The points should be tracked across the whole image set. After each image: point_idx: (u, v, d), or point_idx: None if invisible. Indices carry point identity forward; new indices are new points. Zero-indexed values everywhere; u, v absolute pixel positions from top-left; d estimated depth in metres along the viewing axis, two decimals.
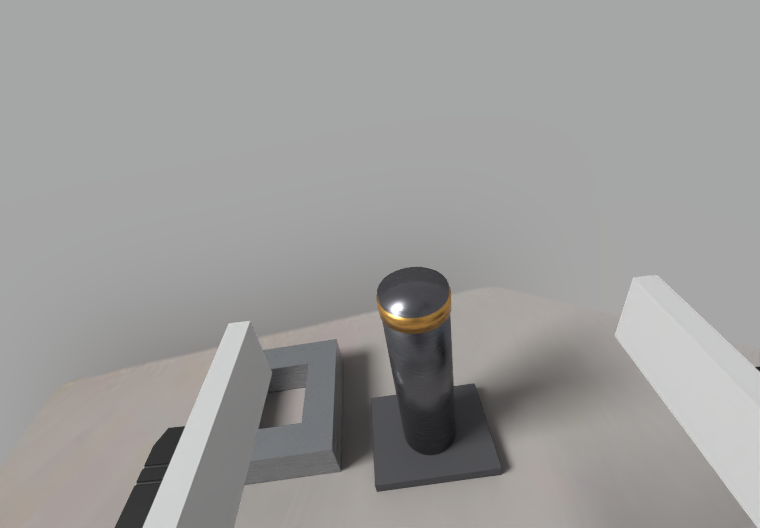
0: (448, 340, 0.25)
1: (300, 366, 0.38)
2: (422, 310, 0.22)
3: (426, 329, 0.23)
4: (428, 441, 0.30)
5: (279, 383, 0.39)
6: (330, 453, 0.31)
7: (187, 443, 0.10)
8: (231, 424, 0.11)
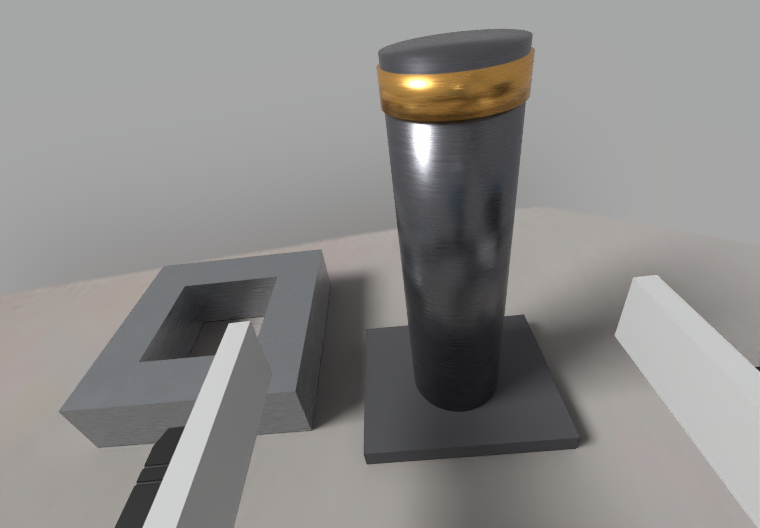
0: (516, 170, 0.13)
1: (266, 281, 0.26)
2: (478, 51, 0.10)
3: (480, 111, 0.11)
4: (457, 385, 0.18)
5: (235, 306, 0.27)
6: (293, 397, 0.19)
7: (187, 443, 0.10)
8: (231, 424, 0.11)
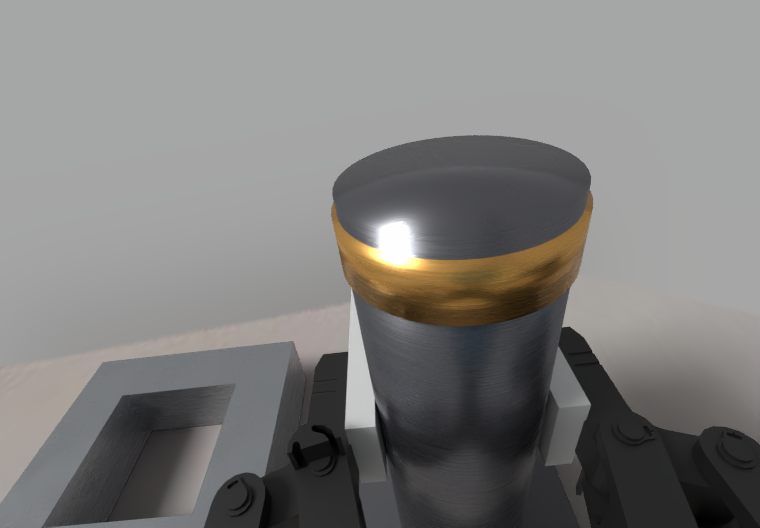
0: (555, 356, 0.08)
1: (223, 388, 0.21)
2: (504, 227, 0.05)
3: (505, 310, 0.06)
4: None
5: (188, 414, 0.22)
6: None
7: (356, 359, 0.11)
8: None
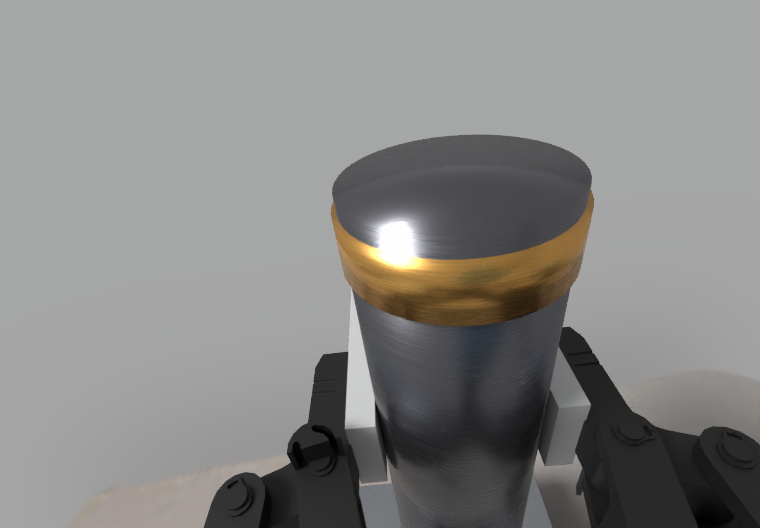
0: None
1: None
2: (505, 227, 0.05)
3: (505, 310, 0.06)
4: None
5: None
6: None
7: (356, 359, 0.11)
8: None
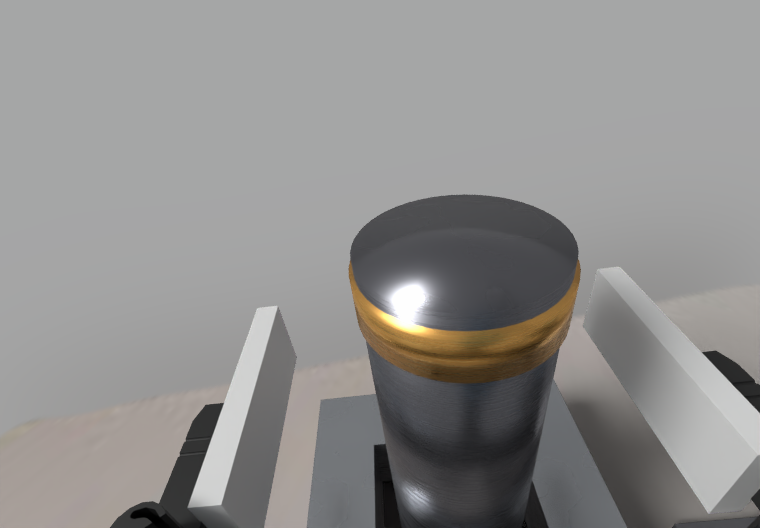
0: (548, 398, 0.09)
1: None
2: (502, 305, 0.06)
3: (503, 369, 0.07)
4: None
5: None
6: None
7: (228, 416, 0.10)
8: (265, 401, 0.11)
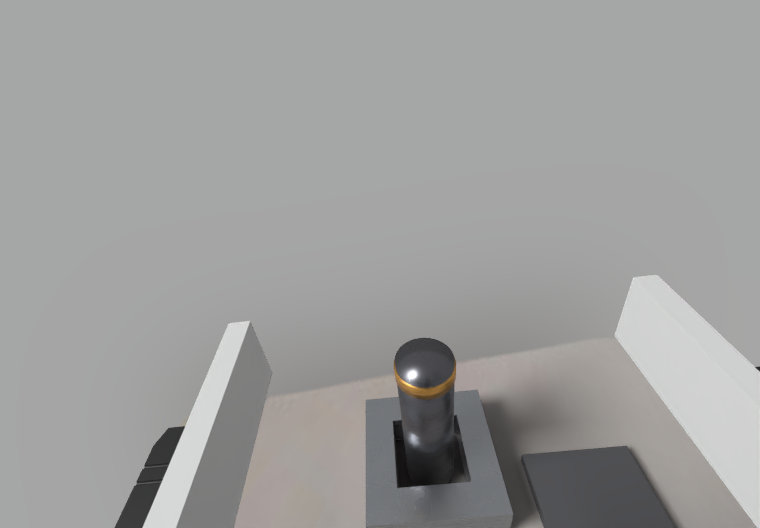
0: (451, 402, 0.30)
1: None
2: (432, 382, 0.27)
3: (434, 396, 0.28)
4: (429, 481, 0.35)
5: None
6: (510, 516, 0.31)
7: (187, 443, 0.10)
8: (231, 424, 0.11)
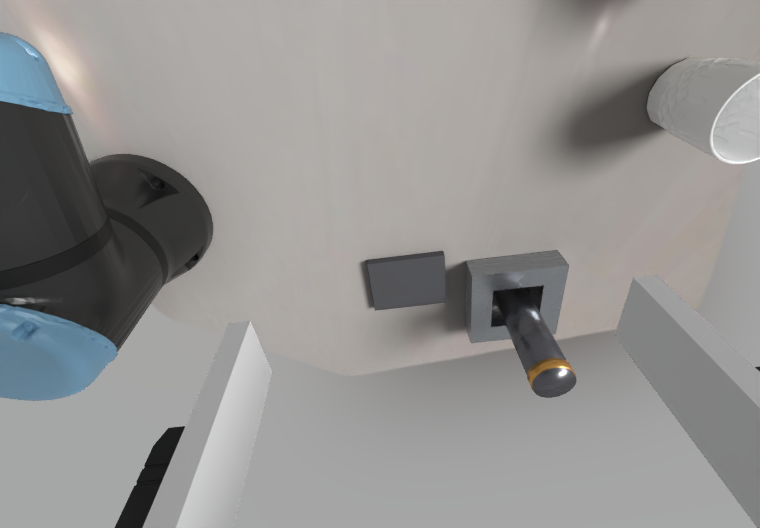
0: (525, 351, 0.43)
1: (496, 325, 0.53)
2: (554, 371, 0.39)
3: (548, 360, 0.41)
4: None
5: None
6: (472, 274, 0.48)
7: (187, 443, 0.10)
8: (231, 424, 0.11)
